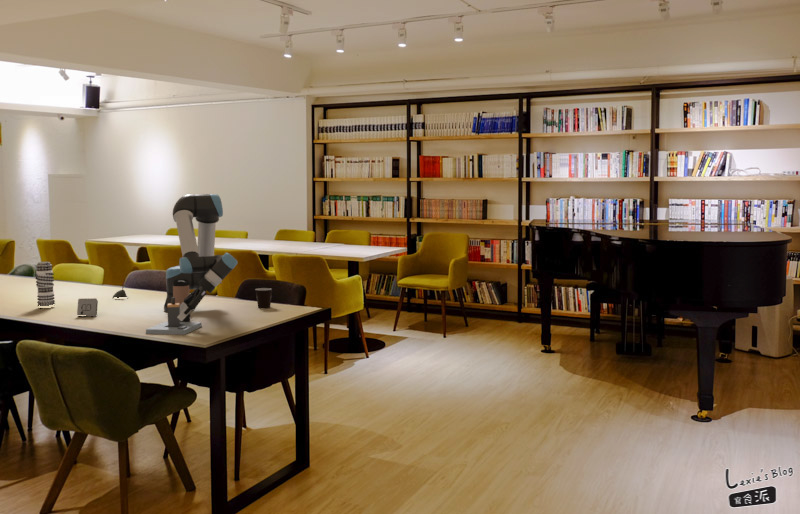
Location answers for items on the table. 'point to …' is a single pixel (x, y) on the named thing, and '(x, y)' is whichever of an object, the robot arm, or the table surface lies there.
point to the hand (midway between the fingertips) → (177, 316)
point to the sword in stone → (120, 293)
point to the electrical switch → (87, 307)
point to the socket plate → (174, 328)
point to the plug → (173, 313)
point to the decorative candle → (45, 284)
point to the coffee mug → (263, 297)
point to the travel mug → (181, 293)
